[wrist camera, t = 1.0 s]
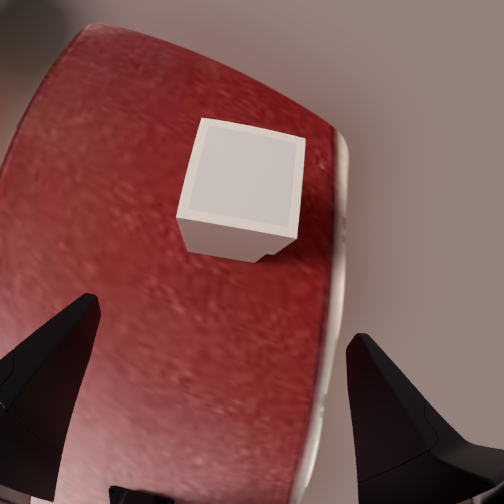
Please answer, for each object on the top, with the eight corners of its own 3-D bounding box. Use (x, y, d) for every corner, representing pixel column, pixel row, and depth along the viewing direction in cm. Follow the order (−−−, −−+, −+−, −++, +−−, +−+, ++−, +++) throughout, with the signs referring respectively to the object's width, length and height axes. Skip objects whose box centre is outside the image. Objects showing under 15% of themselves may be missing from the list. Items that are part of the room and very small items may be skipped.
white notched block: (260, 263, 23) (296, 238, 14) (187, 251, 23) (176, 217, 13) (270, 195, 25) (305, 138, 15) (201, 183, 24) (201, 117, 15)
